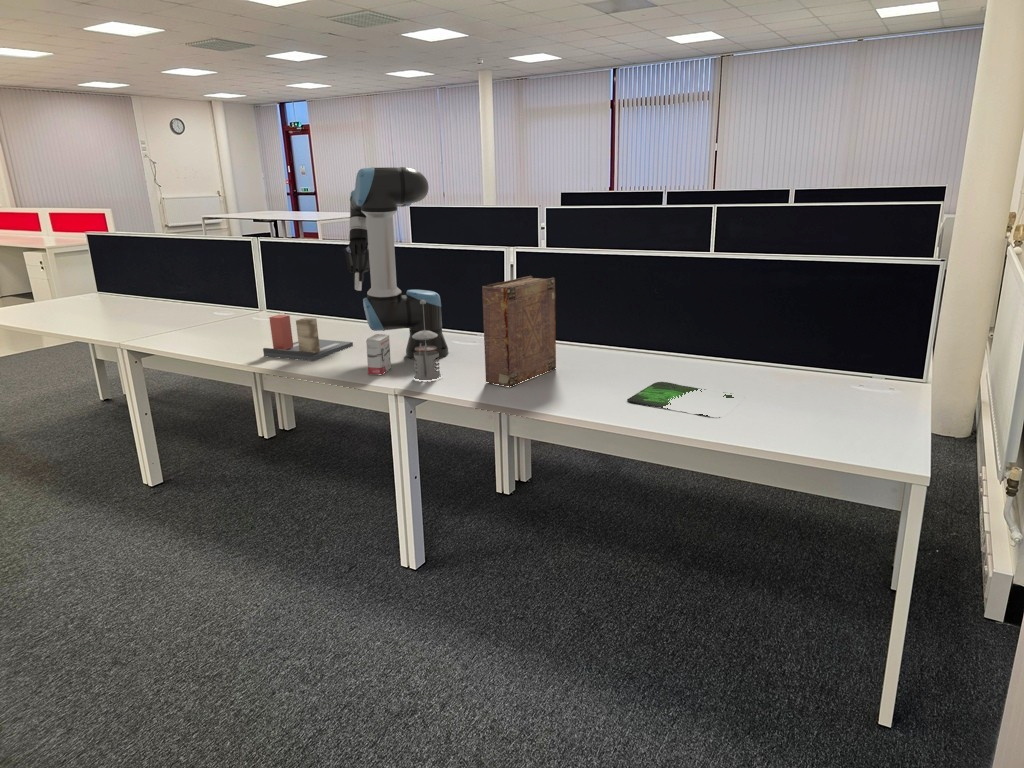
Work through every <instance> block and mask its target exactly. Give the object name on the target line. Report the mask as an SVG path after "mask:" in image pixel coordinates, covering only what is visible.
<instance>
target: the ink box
mask: <svg viewBox="0 0 1024 768" xmlns="http://www.w3.org/2000/svg"><path fill="white" fill-rule="evenodd" d="M365 343H366V356H367V361H366V362H367V373H368V374H377V375H376V376H379V375H378V374H382V375H384V374H385V373H387V372H388V371H390V370H391V369H392V363H391V347H390V334H383V333H381V334H380V333H379V334H378V333H376V334H374V335H372V336H370V337H368V338H367V339H366V341H365ZM390 368H391V369H390ZM389 369H390V370H389ZM387 370H388V371H387ZM386 371H387V372H386ZM384 372H385V373H384ZM383 373H384V374H383ZM368 374H367V375H368Z"/></svg>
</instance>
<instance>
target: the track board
mask: <svg viewBox="0 0 1024 768" xmlns="http://www.w3.org/2000/svg"><path fill="white" fill-rule="evenodd" d="M351 346H352V347H353V346H354V342H353V341H343V340H341V341H340V340H331V339H320V338H319V347H320V351H319V352H316V353H313V352H304V351H299V343H298V340H297V341H293V347H292V348H289V349H286V350H283V349H273V348H270V347H263V348H262V351H263V357H265V356H268V357H267V358H275V357H280V358H279V359H285V358H289V360H295V359H298V361H305V360H307V362H309V361H310V362H314V361H316V360H319V359H321V358H322V359H323V358H325V357H328V356H329V355H333V354H336V353H337V352H340V350H341V351H344V350H346V349H348V347H349V348H351ZM345 348H346V349H345ZM343 349H344V350H343Z"/></svg>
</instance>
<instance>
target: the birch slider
mask: <svg viewBox="0 0 1024 768" xmlns="http://www.w3.org/2000/svg"><path fill="white" fill-rule="evenodd" d="M317 321H318V320H317V318H313V317H303V318H299V319H295V326H296V333H297V341H298V343H299V351H304V352H313V353H316V352H319V351H320V347H319V339H320V337H319V330H318V329H319V328H318V323H317Z"/></svg>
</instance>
